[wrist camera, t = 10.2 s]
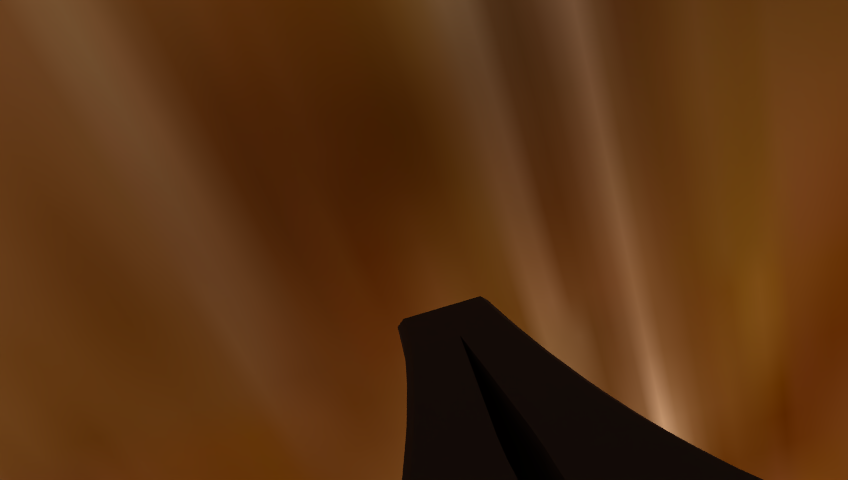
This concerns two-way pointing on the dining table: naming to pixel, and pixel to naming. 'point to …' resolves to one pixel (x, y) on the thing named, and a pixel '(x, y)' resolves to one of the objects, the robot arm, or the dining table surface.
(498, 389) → the robot arm
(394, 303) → the dining table surface
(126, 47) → the dining table surface
